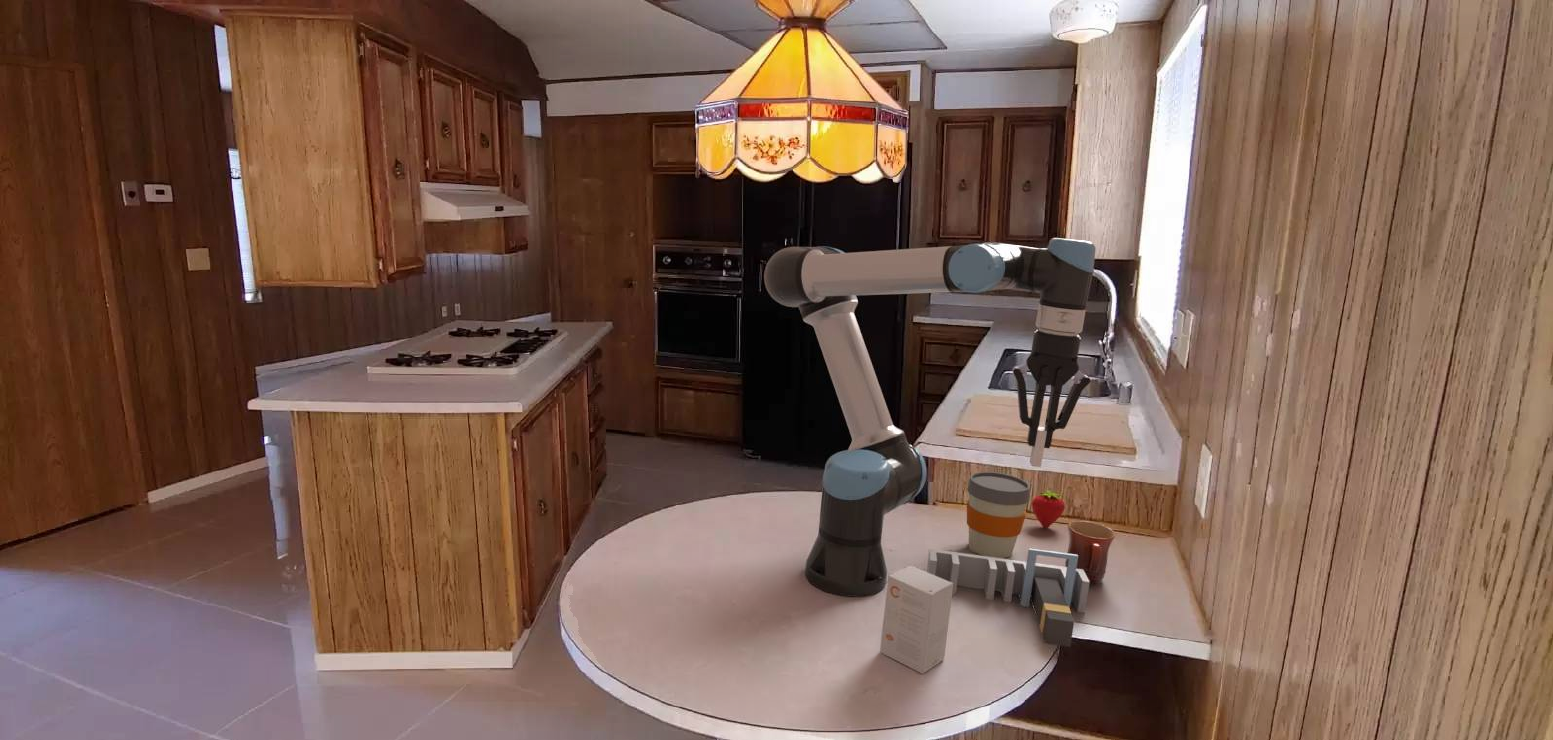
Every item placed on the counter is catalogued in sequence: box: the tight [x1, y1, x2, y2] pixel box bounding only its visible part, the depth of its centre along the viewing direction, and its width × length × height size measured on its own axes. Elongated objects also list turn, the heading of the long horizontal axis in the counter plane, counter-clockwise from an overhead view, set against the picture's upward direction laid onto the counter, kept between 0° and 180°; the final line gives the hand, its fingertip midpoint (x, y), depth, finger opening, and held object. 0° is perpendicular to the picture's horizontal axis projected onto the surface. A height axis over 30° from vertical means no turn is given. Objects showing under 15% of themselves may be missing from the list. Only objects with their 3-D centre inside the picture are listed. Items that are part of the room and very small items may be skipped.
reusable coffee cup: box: [966, 471, 1031, 559], centre depth 166 cm, size 13×12×15 cm
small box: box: [879, 565, 953, 675], centre depth 123 cm, size 8×6×13 cm
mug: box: [1064, 520, 1117, 586], centre depth 155 cm, size 12×9×10 cm
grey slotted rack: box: [926, 548, 1090, 614], centre depth 147 cm, size 28×5×6 cm, turn 81°
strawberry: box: [1031, 485, 1066, 529], centre depth 181 cm, size 6×8×10 cm
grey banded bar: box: [1030, 576, 1075, 648], centre depth 138 cm, size 4×16×5 cm, turn 171°
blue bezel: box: [1019, 547, 1078, 610], centre depth 142 cm, size 8×1×11 cm, turn 81°
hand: (1035, 464), depth 139 cm, fingers closed
